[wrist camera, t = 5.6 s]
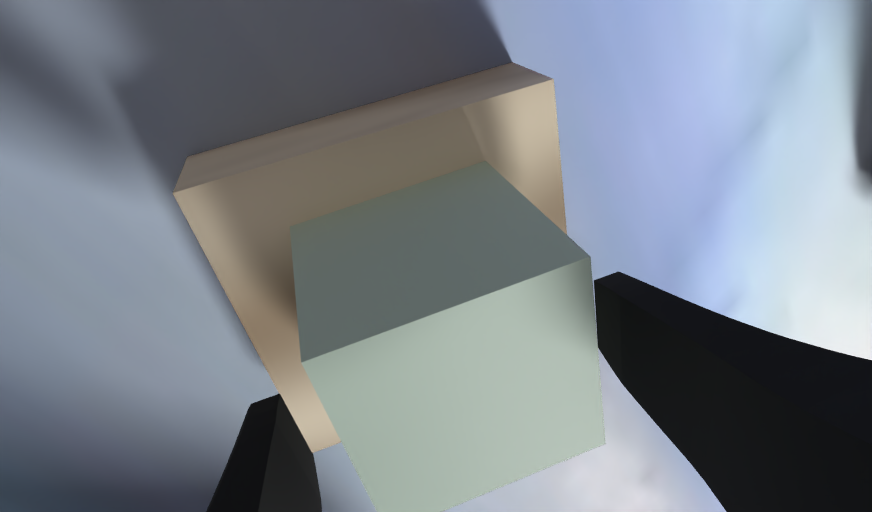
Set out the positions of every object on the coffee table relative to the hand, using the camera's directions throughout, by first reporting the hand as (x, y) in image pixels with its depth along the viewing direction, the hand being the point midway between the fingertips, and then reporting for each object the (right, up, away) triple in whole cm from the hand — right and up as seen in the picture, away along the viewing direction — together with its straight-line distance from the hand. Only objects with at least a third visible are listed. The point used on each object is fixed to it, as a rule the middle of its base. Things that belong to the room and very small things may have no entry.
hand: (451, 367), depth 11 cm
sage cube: (-1, +2, +2) cm, 3 cm away
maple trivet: (-2, +3, +5) cm, 6 cm away
